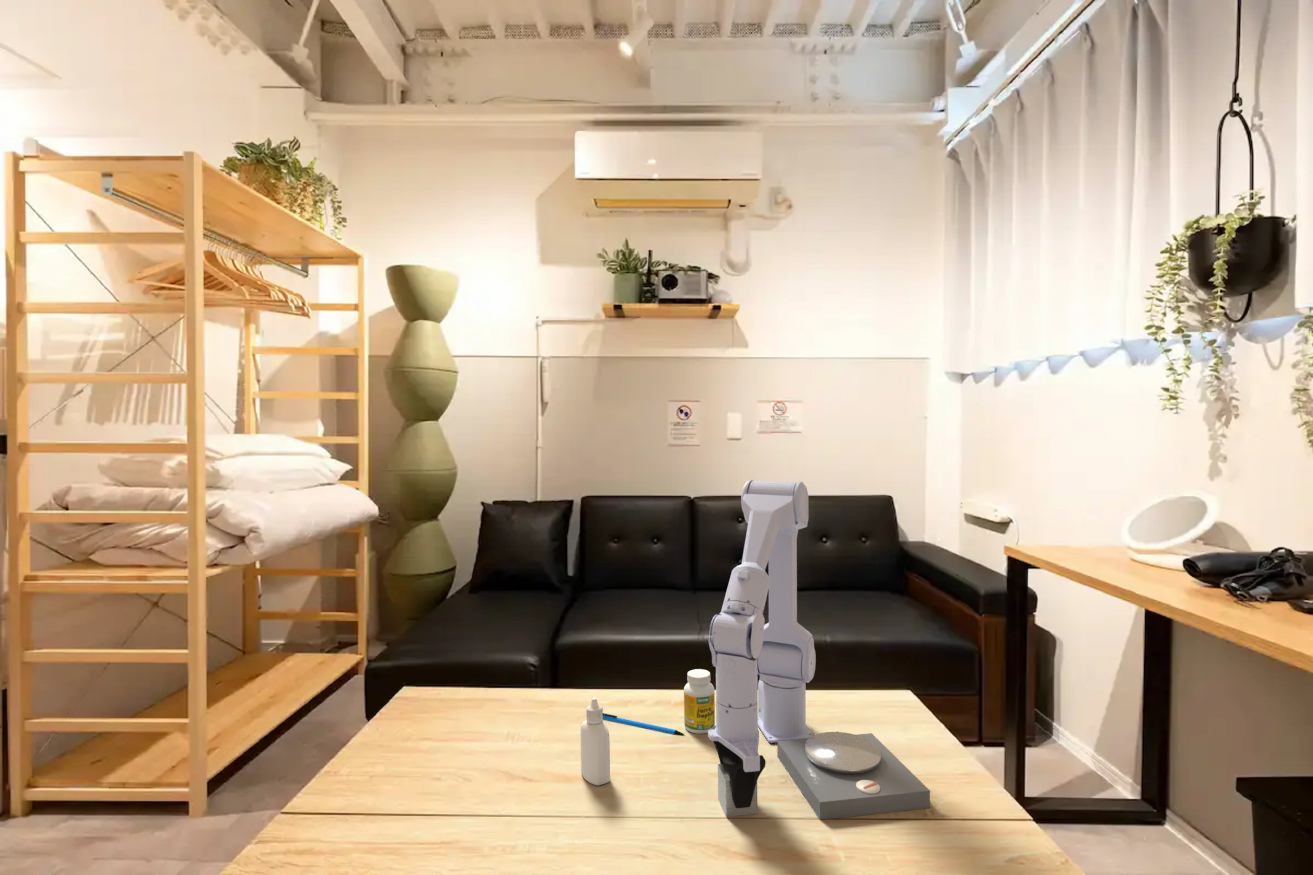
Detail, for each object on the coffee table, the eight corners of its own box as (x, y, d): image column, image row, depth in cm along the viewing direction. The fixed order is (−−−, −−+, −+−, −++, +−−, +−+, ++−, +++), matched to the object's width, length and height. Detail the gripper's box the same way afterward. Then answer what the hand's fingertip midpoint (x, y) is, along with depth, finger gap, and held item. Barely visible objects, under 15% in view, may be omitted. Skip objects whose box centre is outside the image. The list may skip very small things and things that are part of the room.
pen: (589, 715, 123) (589, 709, 123) (685, 735, 115) (685, 729, 115) (586, 717, 122) (586, 710, 122) (683, 738, 114) (683, 731, 114)
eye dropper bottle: (609, 766, 105) (608, 690, 104) (610, 786, 99) (609, 705, 99) (581, 767, 104) (580, 691, 104) (580, 787, 99) (579, 707, 98)
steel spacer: (718, 798, 95) (717, 763, 95) (748, 795, 96) (747, 761, 96) (726, 816, 91) (725, 780, 91) (757, 813, 92) (757, 777, 92)
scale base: (777, 756, 107) (777, 739, 107) (871, 747, 110) (871, 731, 109) (819, 819, 90) (819, 799, 90) (929, 807, 93) (930, 788, 93)
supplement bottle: (702, 717, 121) (702, 664, 121) (721, 729, 117) (720, 674, 116) (678, 725, 118) (677, 671, 118) (696, 737, 114) (695, 681, 113)
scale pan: (794, 739, 106) (794, 734, 106) (860, 733, 108) (860, 728, 108) (822, 776, 96) (822, 771, 95) (894, 769, 97) (894, 763, 97)
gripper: (697, 681, 100) (697, 771, 100) (721, 725, 85) (722, 830, 86) (743, 677, 101) (743, 766, 101) (775, 721, 86) (775, 824, 87)
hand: (737, 795), depth 94 cm, fingers closed on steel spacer, 4 cm apart
